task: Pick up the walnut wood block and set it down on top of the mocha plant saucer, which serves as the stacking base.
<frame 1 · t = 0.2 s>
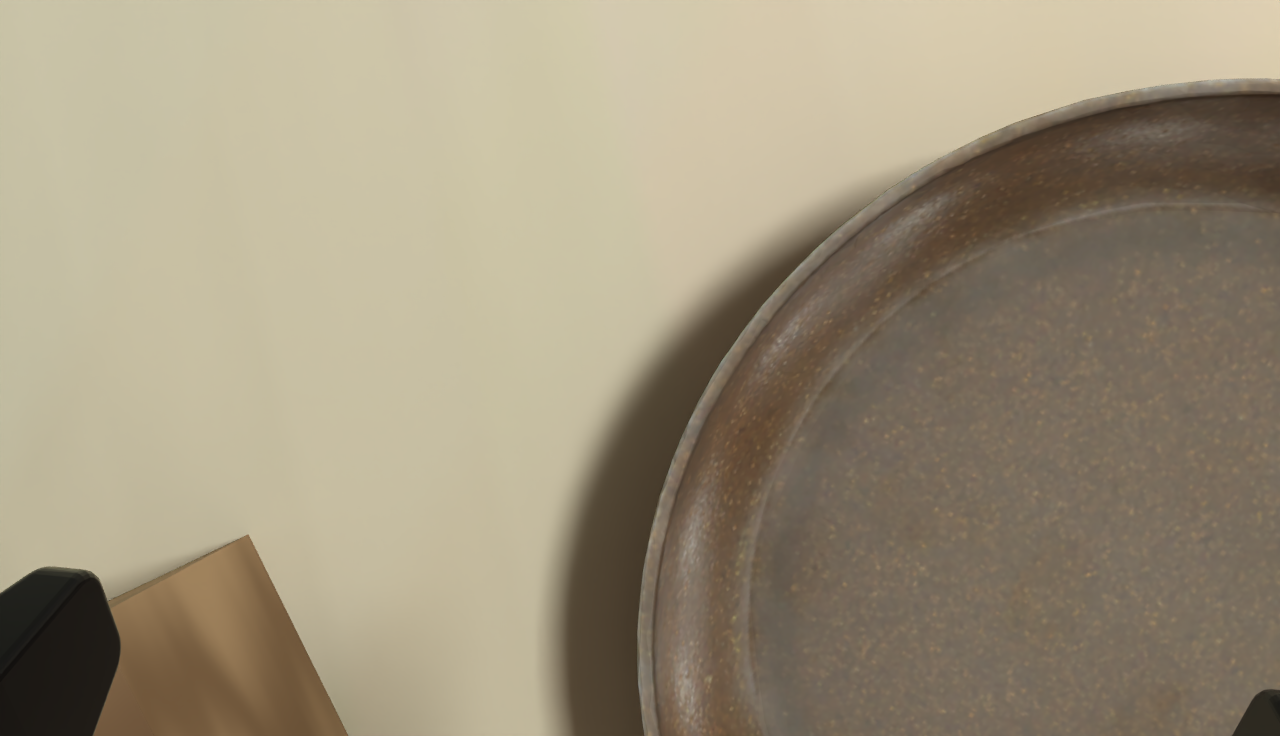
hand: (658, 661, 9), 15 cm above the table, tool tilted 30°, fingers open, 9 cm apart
plant saucer: (1152, 616, 24), on the table
walnut block: (202, 682, 25), on the table
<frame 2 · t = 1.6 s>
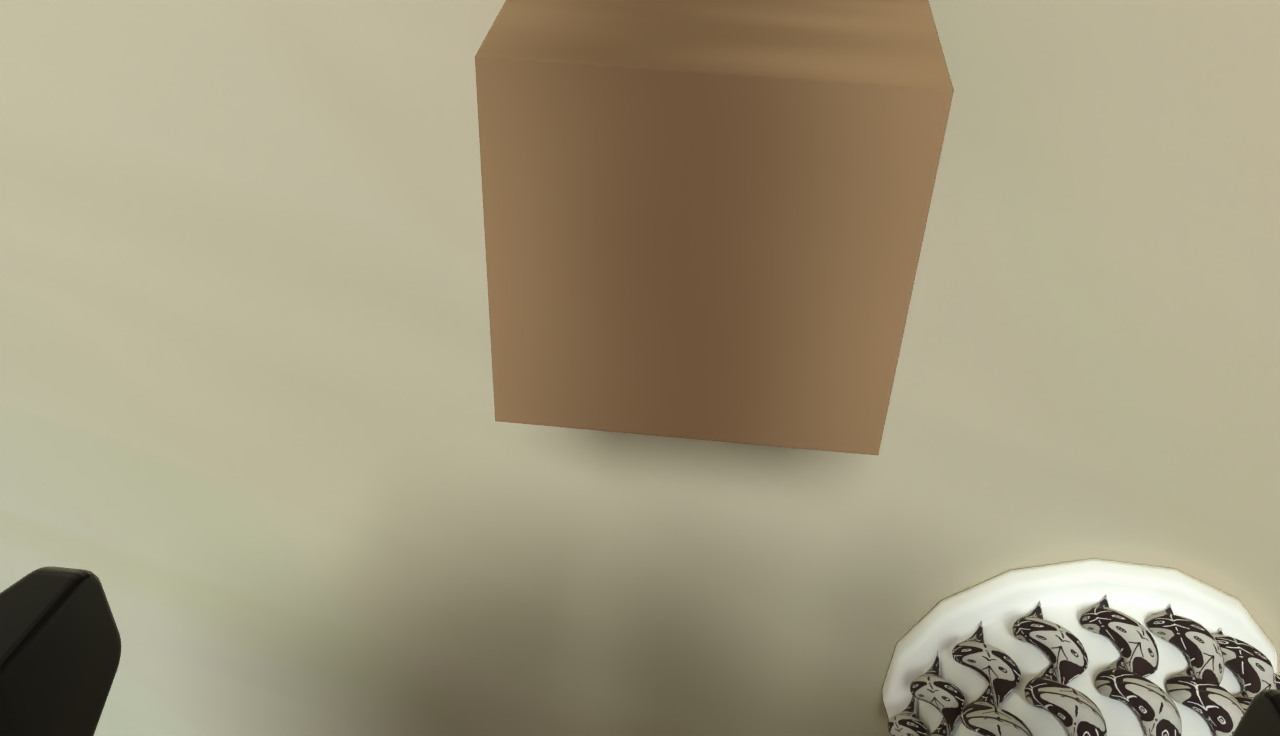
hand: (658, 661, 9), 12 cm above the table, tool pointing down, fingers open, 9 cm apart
decorative candle: (1069, 684, 26), on the table
walnut block: (719, 73, 18), on the table
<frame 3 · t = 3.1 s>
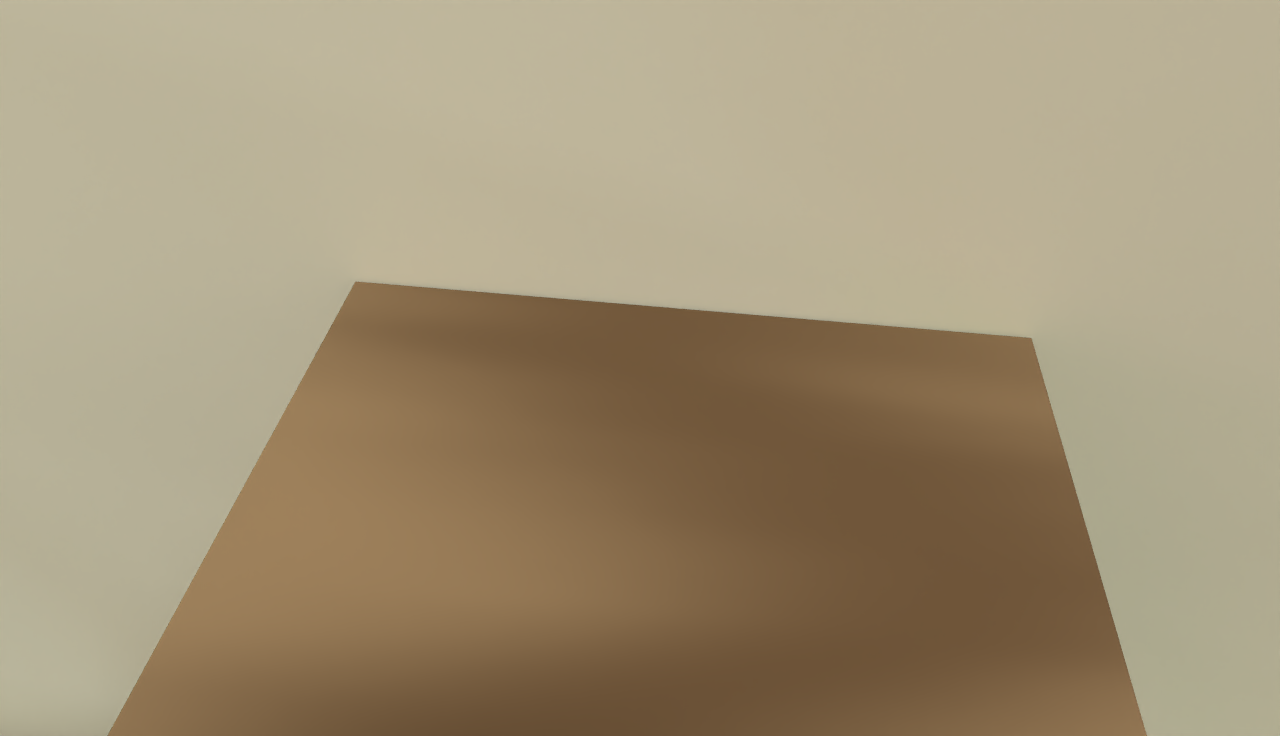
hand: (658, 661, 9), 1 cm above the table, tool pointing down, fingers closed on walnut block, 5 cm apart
walnut block: (670, 547, 10), on the table, touching gripper
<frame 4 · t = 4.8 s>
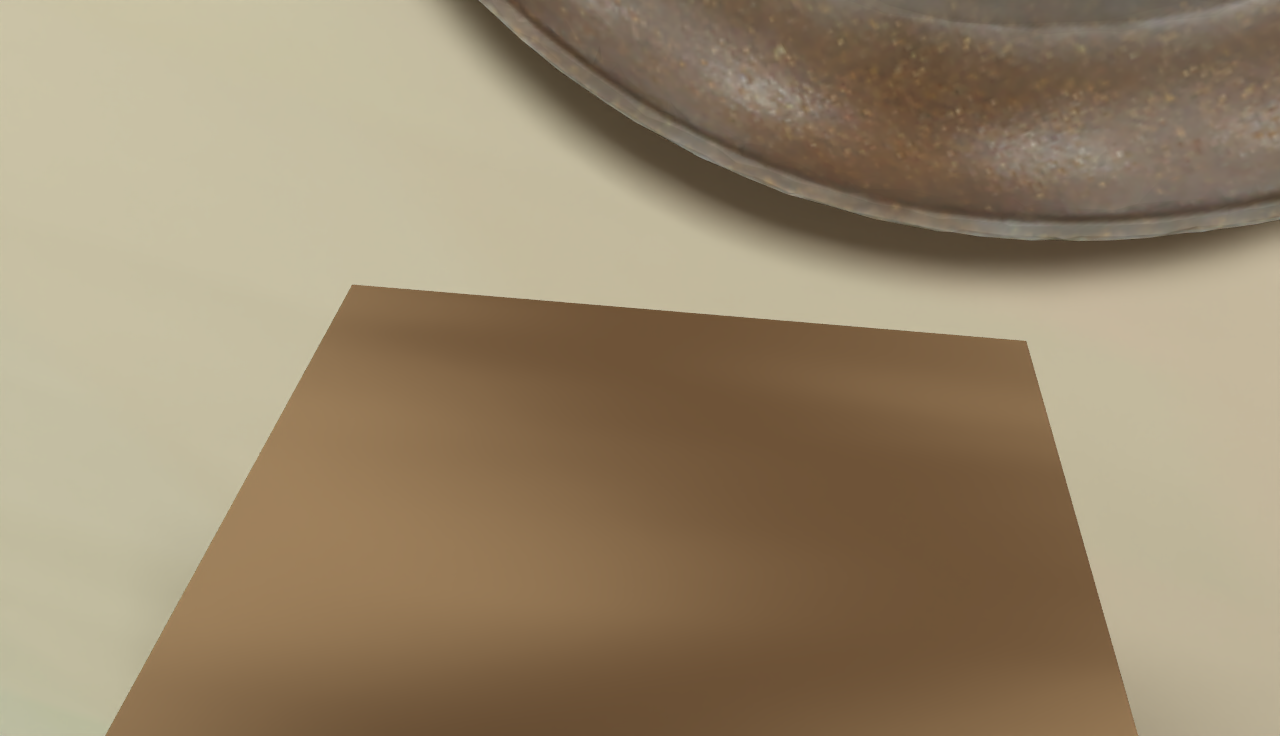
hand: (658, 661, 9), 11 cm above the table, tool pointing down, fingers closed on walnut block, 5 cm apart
walnut block: (667, 549, 10), point 10 cm above the table, touching gripper
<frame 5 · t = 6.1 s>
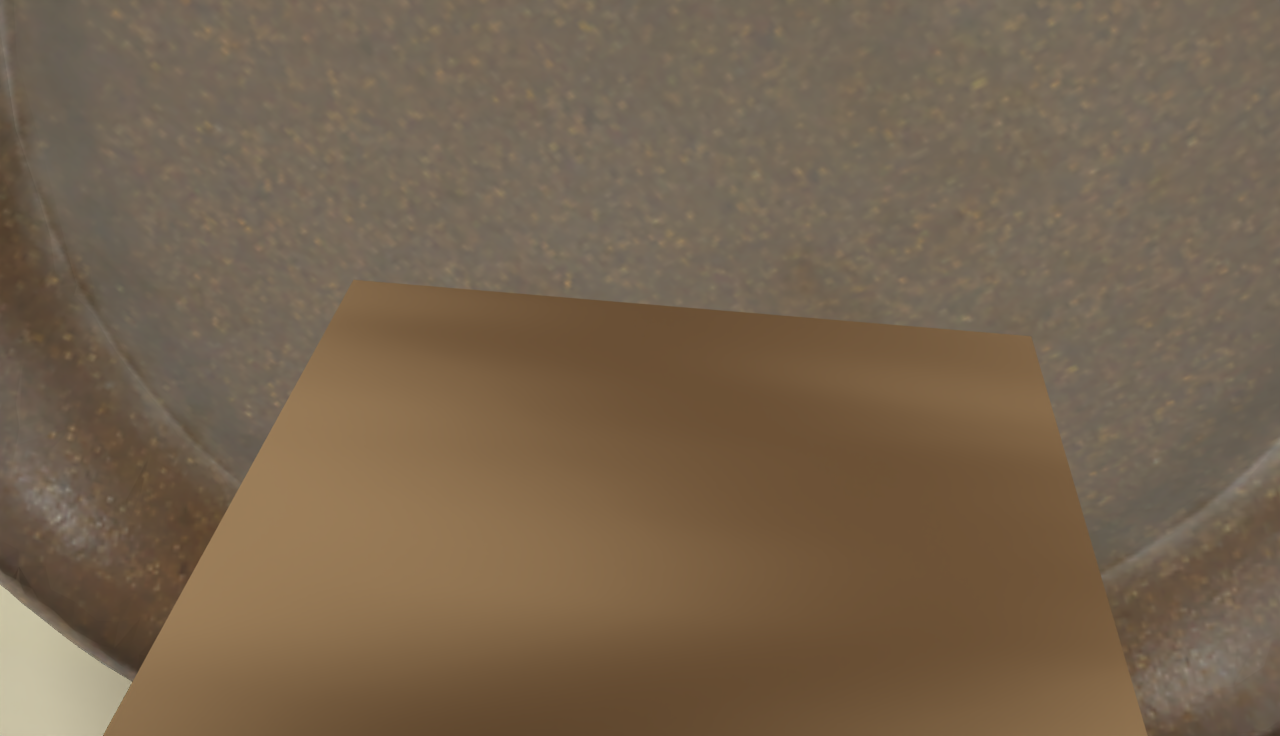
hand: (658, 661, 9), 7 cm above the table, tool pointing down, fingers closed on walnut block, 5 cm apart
plant saucer: (702, 198, 15), on the table
walnut block: (669, 546, 10), point 6 cm above the table, touching gripper
when the fingers open (5 cm above the table, at t = 6.8 s): walnut block stays where it is, resting on plant saucer.
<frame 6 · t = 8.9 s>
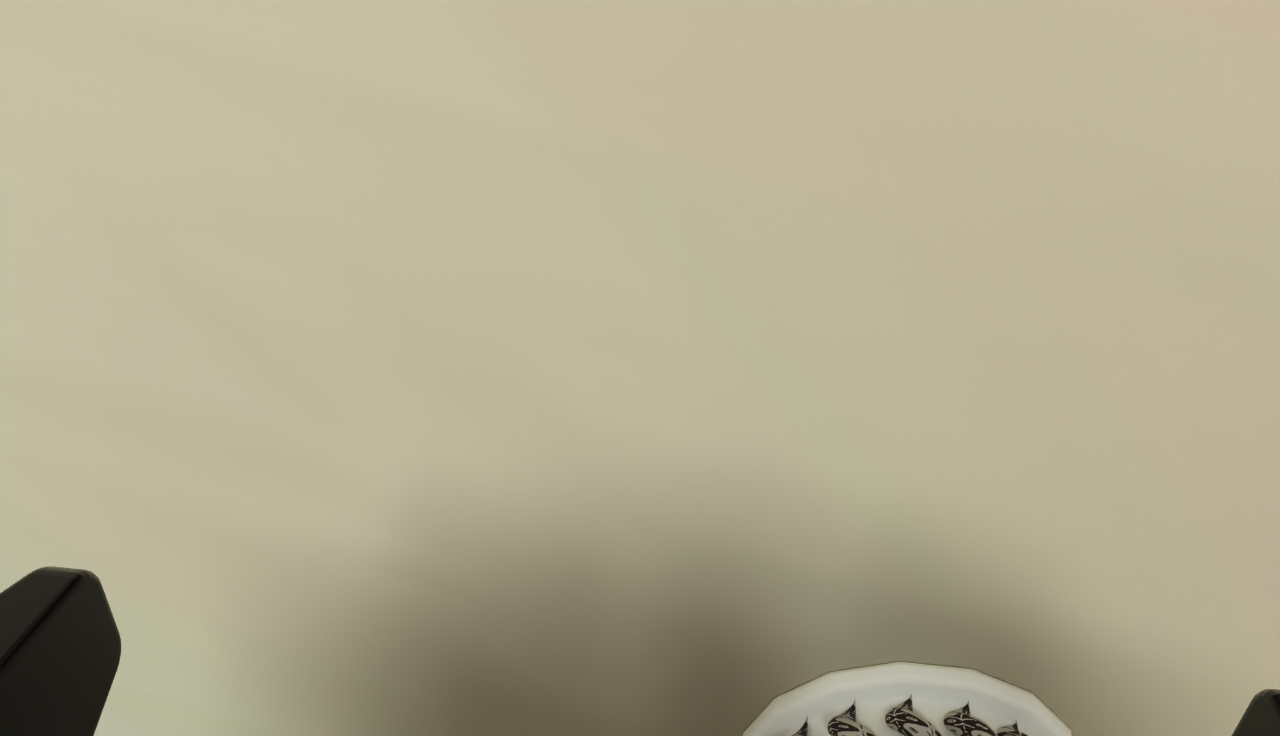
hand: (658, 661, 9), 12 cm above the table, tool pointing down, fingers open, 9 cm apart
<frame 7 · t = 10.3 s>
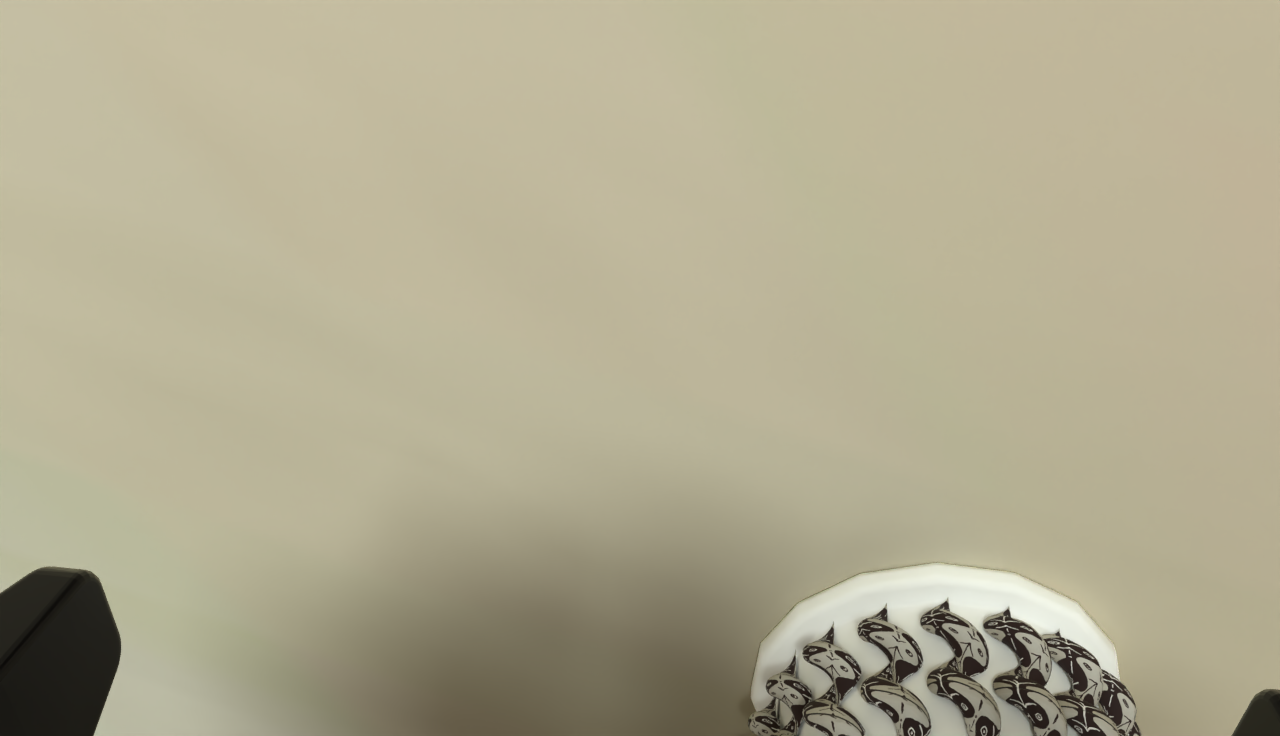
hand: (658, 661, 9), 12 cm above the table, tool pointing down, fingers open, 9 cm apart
decorative candle: (929, 682, 27), on the table
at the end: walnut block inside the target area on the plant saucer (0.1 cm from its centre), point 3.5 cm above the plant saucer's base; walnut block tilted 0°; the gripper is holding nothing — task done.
